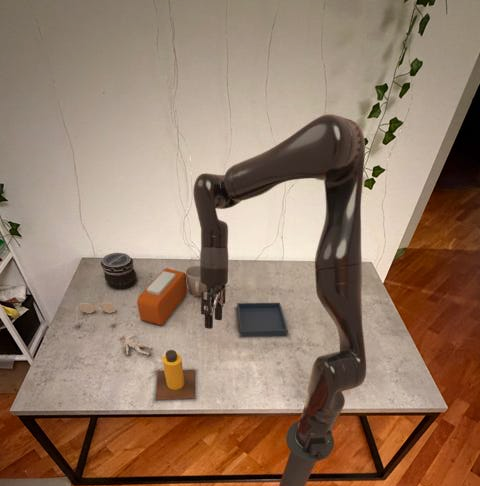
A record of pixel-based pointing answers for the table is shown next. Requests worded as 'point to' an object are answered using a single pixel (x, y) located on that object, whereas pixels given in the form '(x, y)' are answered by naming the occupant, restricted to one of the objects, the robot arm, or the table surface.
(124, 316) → the table surface
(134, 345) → the soldier figure
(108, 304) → the sunglasses
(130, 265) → the container
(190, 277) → the mug
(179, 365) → the yellow bottle
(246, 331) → the tray
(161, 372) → the board
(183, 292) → the orange box
